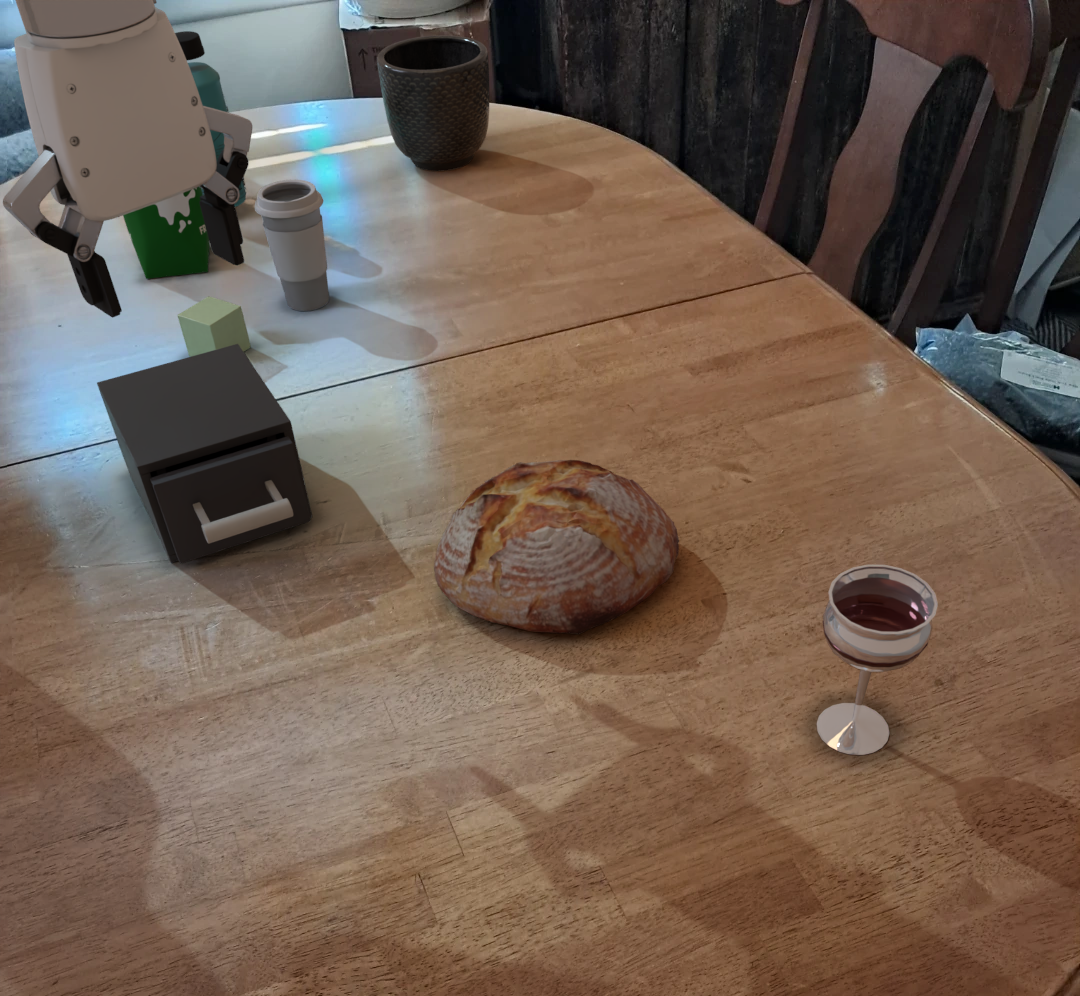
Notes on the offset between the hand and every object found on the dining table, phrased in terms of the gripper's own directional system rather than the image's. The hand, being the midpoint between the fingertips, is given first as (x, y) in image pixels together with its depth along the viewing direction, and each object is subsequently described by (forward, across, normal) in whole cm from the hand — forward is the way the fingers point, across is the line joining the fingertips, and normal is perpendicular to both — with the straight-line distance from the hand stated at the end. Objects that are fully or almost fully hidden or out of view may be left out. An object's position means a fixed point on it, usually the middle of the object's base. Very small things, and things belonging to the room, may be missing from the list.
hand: (169, 283), depth 79 cm
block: (+24, -17, -32) cm, 43 cm away
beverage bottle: (+24, -37, -61) cm, 75 cm away
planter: (+24, -66, -53) cm, 88 cm away
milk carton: (+24, -25, -53) cm, 64 cm away
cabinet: (+24, -3, -10) cm, 26 cm away
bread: (+24, -16, +20) cm, 36 cm away
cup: (+24, -30, -34) cm, 51 cm away
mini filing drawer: (+23, -2, -5) cm, 24 cm away
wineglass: (+25, -19, +47) cm, 56 cm away
